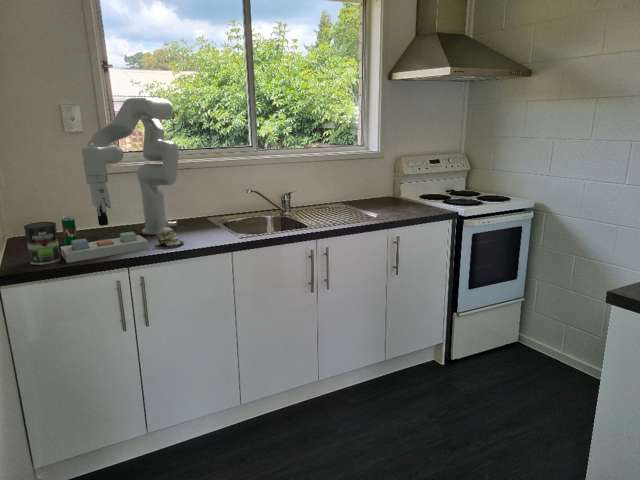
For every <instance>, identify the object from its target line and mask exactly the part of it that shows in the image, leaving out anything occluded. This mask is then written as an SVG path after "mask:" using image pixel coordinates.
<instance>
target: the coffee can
mask: <svg viewBox="0 0 640 480" xmlns="http://www.w3.org/2000/svg"><path fill="white" fill-rule="evenodd" d="M23 229H24V233H25V238H26V246H27V250H28V256H29V263H30V264H31V265H35V266H36V265H38V266H39V265H40V266H41V265H50V264H54V263H57V262H59V261H61V260H62V256H61V249H60V245H59V239H58V238H59V237H58V232H57V223H56V222H54V221H39V222H34V223H33V222H32V223H28V224H26V225H25V224H24V225H23Z"/></svg>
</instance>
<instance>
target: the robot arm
mask: <svg viewBox="0 0 640 480" xmlns="http://www.w3.org/2000/svg"><path fill="white" fill-rule="evenodd" d="M173 114H174V106H173V104H172V102H171V101H170V100H168V99H166V98H151V97H149V98H148V97H130V98H127V99H126V100H124V102H123V103H122V105H121V106H120V109H118V112H117V113H116V115H115V117H114V118H113V120H112V121H111V122H110V123H108V124H107V125H104V126H103V127H102V128H100V129H99V130H98V131H97V132H95V133H94V134H93V135H92V137H91V138H90V140H89V141H88V142H87V145H86V146H84V147H82V148H81V156H82V162H83V168H84V169H83V170H84V175H85V182H86V184H87V185H89V189H90V190H89V191H90V197H91V202H92V206H93V207H94V208H96V213H97V221H98V225H99V226H100V227H102V226H108V225H109V219H108V213H107V208H109V209H111V208H112V203H111V200H110V193H109V190H108V186H107V183H108V182H109V181H108V180H109V179H108V173H107V166H106V165H108V164H110V165H111V164H112V165H113V164H118V163H119V162H121V161H122V160H123V159H124V150H123V149H122V148H121V146H120V145H117V144H113V143H114V142H116V141H119V140H123V139H124V138H127V137H129V136H131V135H132V134H133V132H134V131H135V129H136V126H137V125H138V123H139V122H140V121H141V122H142V125H143V128H144V135H143V136H144V137H143V147H142V148H143V149H142V154H143V155H142V157H143V158H144V159H145V160H146V161H149V162H158V163H159V164H158V163H144V164H142V165H140V166H139V167H138V169H137V170H136V171H137V172H136V176H137V180H138V183H139V186H140V193H141V200H142V208H143V219H144V228H142V230H141V233H142V234H144V235H154V236H155V235H157V234H158V232H159V231H160V230H161V229H162V228H165V227H169V228H171V227H174V226H177V224H178V222H177V221H176V220H175V221H168V220H167V218H166V217H167V215H166V208H165V207H166V206H165V195H164V192H163V189H162V187H161V186H166V187H167V186H173V185H174V184H175V183H176V181H177V176H178V169H179V168H178V165H179V155H180V154H179V148H178V146H177V143H175V142H174V141H172V140H165V129H164V127H163V125H162V124H161V122H160V121H159V120H168V119H170V118H172V116H173ZM161 162H162V163H161Z"/></svg>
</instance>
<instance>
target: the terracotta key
mask: <svg viewBox="0 0 640 480" xmlns="http://www.w3.org/2000/svg"><path fill="white" fill-rule="evenodd" d="M111 239H112V238H106V239H105V238H104V239H100V240H99V239H98V240H96V241H97V245H98V246H99V247H100V246H106V245H112V244H113V241H112V240H111Z"/></svg>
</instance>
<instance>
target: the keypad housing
mask: <svg viewBox="0 0 640 480" xmlns="http://www.w3.org/2000/svg"><path fill="white" fill-rule="evenodd" d="M110 239H111V240H112V241H113V244H112V245H106V246H100V247H99V246H98V245H97V241H98V240H96V241H91V242H89V241H88V245H89V248H87V249H81V250H74V251H73V249H72V245H69V246H67V245H63V246H60V253H61V255H62V256H61V257H63V259H64V260H65V262H66V263H67V264H68V263H74V262H81V261H86V260H87V261H88V260H92V259H98V258H104V257H109V256H114V255H115V256H116V255H121V254H127V253H131V252H132V253H134V252H139V251H143V250H144V251H146V250H149V249H150V247H149V240H147V238H144V237H143V236H142V235H140V234H136V240H137V241H131V242H125V243H123V242H121V239H120V237H117V238H110Z"/></svg>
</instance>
